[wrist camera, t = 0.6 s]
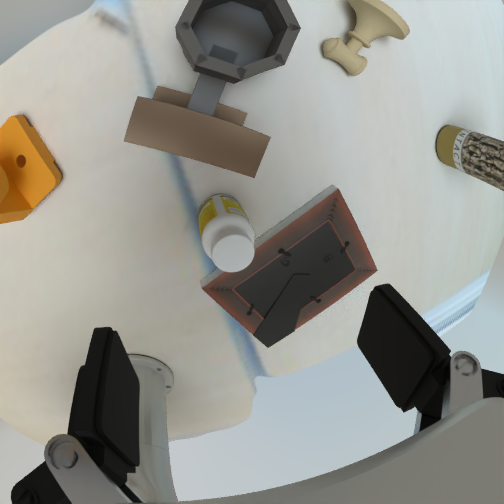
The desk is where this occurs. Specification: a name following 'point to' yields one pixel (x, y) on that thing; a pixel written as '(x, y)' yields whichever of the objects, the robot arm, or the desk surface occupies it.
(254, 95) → the desk surface
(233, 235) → the supplement bottle
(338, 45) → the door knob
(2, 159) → the bracket
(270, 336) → the picture frame
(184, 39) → the cup bracket
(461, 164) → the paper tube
